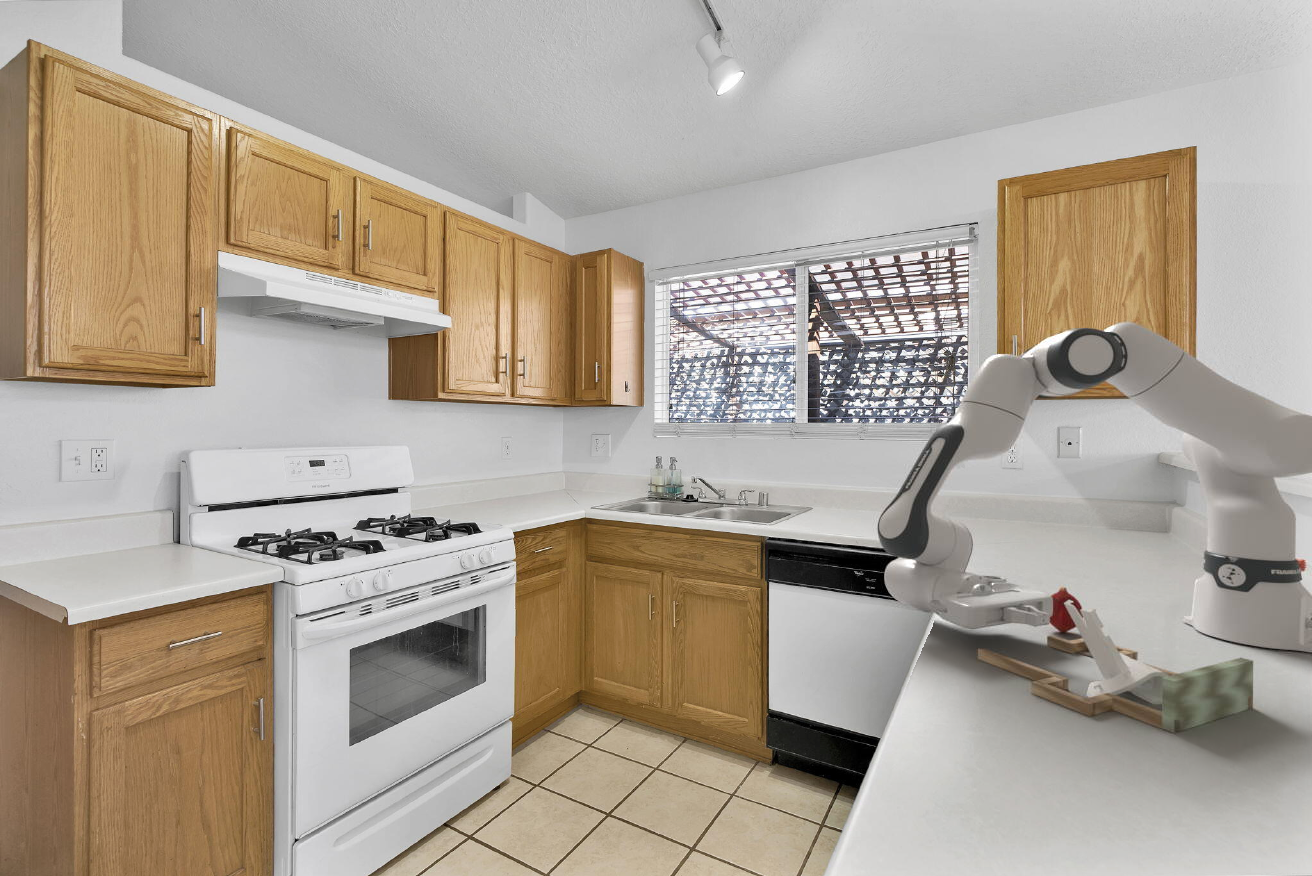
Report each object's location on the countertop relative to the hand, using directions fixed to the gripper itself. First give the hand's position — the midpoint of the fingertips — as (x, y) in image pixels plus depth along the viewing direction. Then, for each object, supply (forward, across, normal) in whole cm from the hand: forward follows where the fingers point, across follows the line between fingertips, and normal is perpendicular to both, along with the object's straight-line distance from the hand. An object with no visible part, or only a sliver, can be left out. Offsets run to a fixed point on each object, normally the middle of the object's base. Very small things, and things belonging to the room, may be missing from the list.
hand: (1043, 620), depth 94 cm
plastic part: (+11, -2, +7) cm, 13 cm away
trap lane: (+8, 0, +6) cm, 10 cm away
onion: (-8, +17, +6) cm, 20 cm away
